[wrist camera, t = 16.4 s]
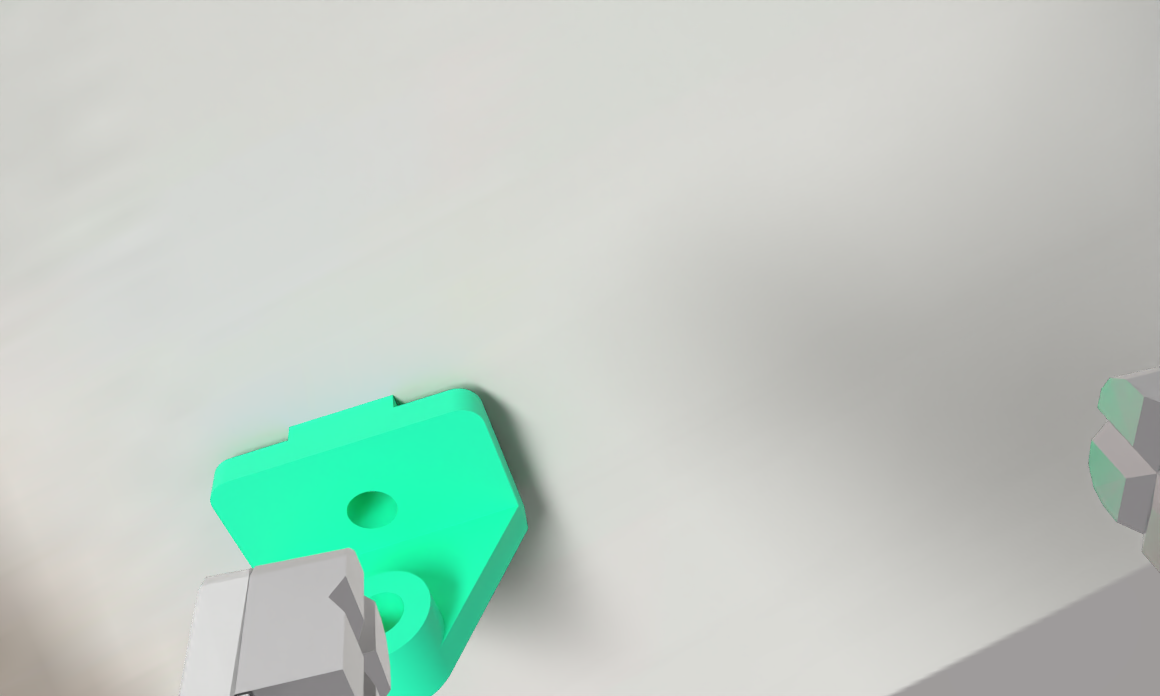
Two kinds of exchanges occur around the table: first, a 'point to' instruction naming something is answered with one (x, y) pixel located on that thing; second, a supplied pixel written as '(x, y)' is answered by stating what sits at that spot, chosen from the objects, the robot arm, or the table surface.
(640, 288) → the table surface
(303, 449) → the camera mount
